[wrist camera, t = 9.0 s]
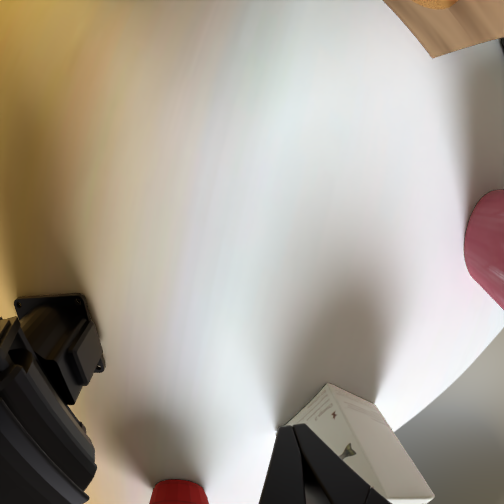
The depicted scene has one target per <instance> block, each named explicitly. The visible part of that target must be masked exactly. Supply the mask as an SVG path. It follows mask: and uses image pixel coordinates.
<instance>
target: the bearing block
mask: <svg viewBox="0 0 504 504" xmlns="http://www.w3.org/2000/svg"><path fill="white" fill-rule="evenodd" d="M383 1H384V2H385V3H386V4H387V5H388V6H389V7H390V8H391V9H392V10H393V12H394V13H395V14H396V15H397V16H398V17H399V18H400V19H401V20H402V22H403V23H404V24H405V25H406V26H407V27H408V28H409V30H410V31H411V32H412V33H413V34H414V36H415V37H416V38H417V39H418V40H419V42H420V43H421V44H422V45H423V47H424V48H425V49H426V50H427V52H428V53H429V54H430V56H431V57H432V58H435V57H438V56H441V55H444V54H447V53H450V52H454V51H457V50H460V49H463V48H466V47H470V46H473V45H477V44H480V43H484V42H487V41H491V40H495V39H498V38H502V37H504V0H458V1H457V2H456V3H455V4H453V5H452V6H451V7H449V8H446V9H438V10H437V9H430V8H426V7H423V6H421V5H419V4H417V3H415V2H413V1H412V0H383Z"/></svg>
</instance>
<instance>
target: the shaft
mask: <svg viewBox="0 0 504 504" xmlns="http://www.w3.org/2000/svg"><path fill="white" fill-rule="evenodd" d="M412 1H413V2H415V3H417V4H419V5H421V6H423V7H426V8H430V9H437V10H438V9H446V8H449V7H451V6H452V5H453V4H455V3H456V2H457V1H458V0H412Z"/></svg>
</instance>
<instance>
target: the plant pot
mask: <svg viewBox="0 0 504 504" xmlns="http://www.w3.org/2000/svg"><path fill="white" fill-rule="evenodd" d="M464 255H465V262H466V266H467V269H468V271H469V273H470V275H471V276H472V278H473V279H474V280H475V281H476V282H477V283H478V284H479V285H480V286H481V287H482V288H483V289H484V290H485V291H486V292H487V293H488V294H489V295H490V296H491V297H492V298H493V299H494V300H495V301H496V302H497V303H498V304H499V306H500V307H501V308H502V309H503V310H504V189H502V190H494V191H491V192H489V193H487V194H485V195H484V196H483V197H482V198H481V199H480V200H479V202H478V203H477V205H476V206H475V208H474V210H473V212H472V214H471V217H470V219H469V222H468V226H467V230H466V235H465V243H464Z"/></svg>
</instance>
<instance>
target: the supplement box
mask: <svg viewBox="0 0 504 504" xmlns="http://www.w3.org/2000/svg"><path fill="white" fill-rule="evenodd" d="M300 423H305V424H306V425H307V426H308V427H309V428H310V429H311V430H312V431H313V432H314V433H315V434H316V435H317V436H318V437H319V438H320V439H321V440H322V441H323V442H325V443H326V444H327V445H328V446H329V447H330V448H331V449H332V450H333V451H334V452H335V453H336V454H337V455H338V456H339V457H340V458H341V459H342V460H343V461H344V462H345V463H346V464H347V465H348V466H350V467H351V468H352V469H353V470H354V471H355V472H356V473H357V474H358V475H359V476H360V477H361V478H363V479H364V480H365V481H366V482H367V483H368V484H369V485H370V486H371V487H373V488H374V489H375V490H376V491H377V492H378V493H379V494H381V495H382V496H383V497H384V498H386V499H387V500H388V501H389V502H391V503H392V504H427V503H428V502H429V501H431V500H432V499H433V498H434V497H435V495H434V494H433V492H432V491H431V489H430V488H429V486H428V484H427V483H426V481H425V480H424V478H423V477H422V475H421V474H420V472H419V470H418V469H417V467H416V466H415V464H414V463H413V461H412V460H411V458H410V457H409V455H408V454H407V452H406V451H405V449H404V447H403V446H402V444H401V443H400V441H399V440H398V438H397V437H396V435H395V434H394V432H393V431H392V429H391V428H390V426H389V425H388V423H387V422H386V420H385V418H384V417H383V415H382V414H381V412H380V411H379V409H378V408H377V406H376V405H375V404H373V403H371V402H369V401H366V400H364V399H362V398H360V397H358V396H355V395H353V394H351V393H349V392H347V391H345V390H343V389H341V388H338V387H337V386H334V385H332V384H330V383H327V384H326V385H325V386H324V387H323V389H322V390H321V391H320V392H319V393H318V394H317V395H316V396H315V397H314V398H313V399H312V400H311V401H310V402H309V403H308V404H307V405H306V406H305V407H304V408H303V409H302V410H301V411H300V412H299V413H298V414H297V415H296V416H295V417H294V418H293V419H292V420H291V421H289V422H288V423H287V424H286V425H291V426H292V425H294V424H300ZM276 436H277V433H276ZM371 487H370V488H371Z"/></svg>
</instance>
